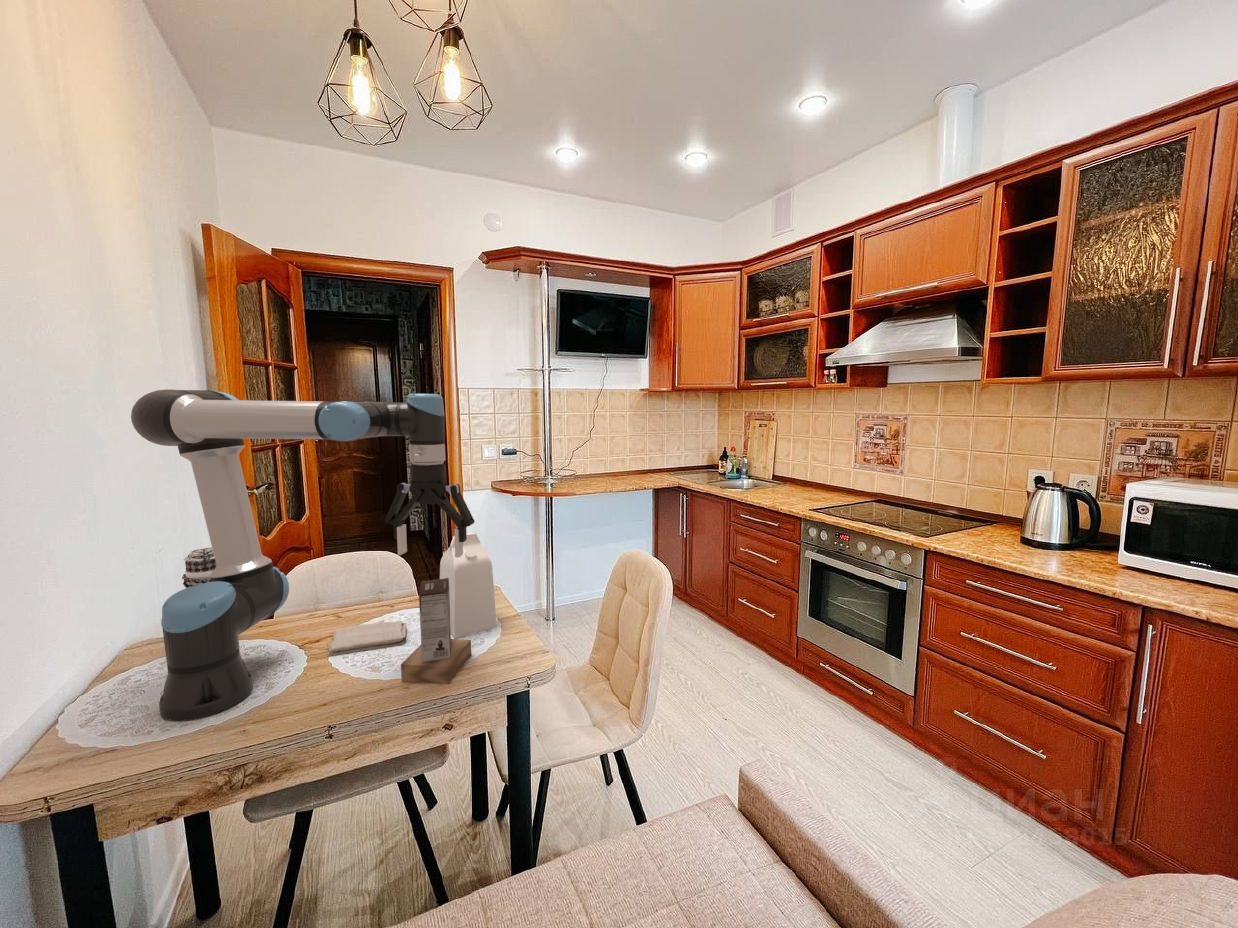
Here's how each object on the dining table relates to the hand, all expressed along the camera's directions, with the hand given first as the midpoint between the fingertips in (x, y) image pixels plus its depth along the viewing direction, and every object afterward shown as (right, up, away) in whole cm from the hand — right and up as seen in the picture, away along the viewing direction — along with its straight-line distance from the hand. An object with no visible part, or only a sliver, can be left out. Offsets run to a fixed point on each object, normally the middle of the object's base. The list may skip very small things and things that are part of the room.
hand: (430, 554), depth 117 cm
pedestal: (+1, -27, +3) cm, 27 cm away
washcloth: (-22, -26, +16) cm, 38 cm away
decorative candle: (-60, -26, +13) cm, 67 cm away
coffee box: (+1, -23, +2) cm, 23 cm away
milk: (+1, -25, +26) cm, 35 cm away
